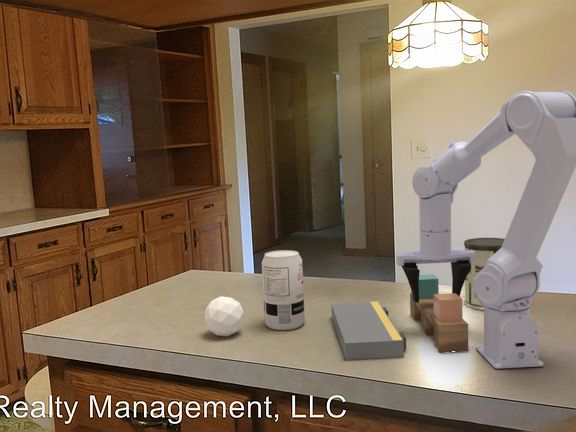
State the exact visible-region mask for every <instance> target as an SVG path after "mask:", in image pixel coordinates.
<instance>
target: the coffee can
mask: <svg viewBox="0 0 576 432" xmlns="http://www.w3.org/2000/svg"><path fill="white" fill-rule="evenodd" d="M504 240H505V238H504V237H503V238H501V237H475V238H468V239H465V240H464V242H463V245H464V250H472V251H474V252H475V262H469V263H470V264H471V270H470V272H469V273H468V275H467V277H466V279H465V281H464V287H465V289H464V292H465V293H464V294H465V295H464V296H465V297H464V298H465V299H464V305H465V306H467V307H468V308H471V309H475V310H479V311H484V306H482V305H481V302H480V300H479V299H478V298H477V296H476V293H475V290H474V279H475V277H476V275H477V274H478V272H480V271H481V270H482V269H483V268H484V267H485V265H486V262H487V260H488V259H489V258H490V257H491V256H492V255H494V254H495V253H496V252H497V251H498V250H499V249H500V248H501V247H502V245H503V242H504Z"/></svg>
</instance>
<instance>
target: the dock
mask: <svg viewBox="0 0 576 432" xmlns="http://www.w3.org/2000/svg"><path fill="white" fill-rule="evenodd" d="M330 308H331V320H332V323H333V326H334V329H335V332H336V334H337V337H338V341H339V343H340V347H341V349H342V352H343V356H344V358H345V360H346V361H354V360H373V359H374V360H375V359H391V358H395V359H396V358H405V354H404V353H405V350H407V337H406V335H405V334H404V332H400V331H398V329H397V328H396V326H395V325H394V323H393V322H392V320H391V319H390V317H389V310H388V309H387V307H386V306H384V307H383V306H382V305H381V303H380V302H379V301H378V300H375V301H367V302H351V303H350V302H349V303H331V307H330Z"/></svg>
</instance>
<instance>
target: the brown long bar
mask: <svg viewBox="0 0 576 432" xmlns="http://www.w3.org/2000/svg"><path fill="white" fill-rule="evenodd" d="M409 307H410V308H409V312H410V313H409V315H410V317H411V318H412V320H413V321H416V322H417V321H420V322H421V326H420V327H421V328H420V329H422V330H421V331H422V333H423V334H424V333H425V334H426V335H427V336H433V346H434V345H435V346H434V348H435V347H436V348H437V349H438V350H437V349H436V350H437V351H438V353H439V352H451V353H453V352H452V351H468V352H469V323H468V322H467V321H466V320H465V319H464V318H463V321H459V322H439V321H438V320H437V319H436V318H435V317H434V299H419V302H418V303H415V302H414V301H413V296H412V291H411V292H409ZM425 334H424V335H425ZM426 335H425V336H426Z"/></svg>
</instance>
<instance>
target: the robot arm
mask: <svg viewBox="0 0 576 432" xmlns="http://www.w3.org/2000/svg"><path fill="white" fill-rule="evenodd" d="M514 135H516V136H517V137H518V139H519V140H520V141H521V142H522V143H523V144H524V146H525V147H526V148H527V149H528V150H529V151H530V152H532V155H533V156H534V159H535V161H534V164H533V167H532V169H531V172H530V175H529V177H528V179H527V182H526V185H525V187H524V189H523V192H522V194H521V198H520V199H519V203H518V205H517V207H516V210H515V213H514V215H513V218H512V220H511V222H510V225H509V228H508V229H507V232H506V235H505V237H504V239H505V240H504V242H503V245H502V247H501V248H500V249H499V250H498V251H497V252H496V253H495V254H494V255H492V256H491V257H490V258H489V259H488V260H487V262H486V265H485V267H484V268H483V269H482V270H481V271H480V272H478V274H477V275H476V277H475V279H474V290H475V293H476V296H477V298H478V299H479V300H480V302H481V305H482V306H484V310H483V344H482V345H480V344H479V345H475V349H476V350H477V352H479V354H481V356H482V357H484V358H485V360H486V361H487V362H488V363H489V364H490V365H491V366H492V367H493V369H497V370H498V369H514V368H515V369H516V368H531V367H532V368H533V367H535V368H536V367H544V365H545V364H544V362H543V361H542V360H541V359H540V358H539V328H538V324H537V323H536V322H535V320H534V319H533V318H532V316H531V304H532V303H533V297H534V296H535V295H537V293H538V292H539V290H540V286H541V281H540V279H541V278H540V276H541V272H542V269H543V267H544V266H543V264H542V263H541V261H540V260H539V259H538V258H537V257H538V255H539V253H540V250H541V248H542V246H543V243H544V241H545V238H546V236H547V234H548V232H549V230H550V227H551V224H552V222H553V221H554V220H553V219H554V218H555V215H556V213H557V211H558V208H559V207H560V204H561V202H562V199H563V197H564V195H565V193H566V190H567V188H568V185H569V183H570V180H571V178H572V176H573V174H574V172H575V170H576V96H575V95H573V94H572V93H571V92H569V91H565V90H558V91H531V90H523V91H520V92H517V93H516V94H515V95H513V96H512V98H510V99H509V100H507V101H506V102H504V103H503V104H502V105H501V107H500V111H499V112H498V113H497V114H496V115H495V116H494V117H493V118H492V119H491V120H490V121H489V122H487V124H485V125H484V126H483V127H482V129H480V130H479V131H477V133H476V134H474V135H473V137H471V138H470V139H469V141H457V142H451V143H450V144H449V145H448V149H447V151H446V152H444V153H443V154H442V155H441V156H440V157H435V159H433V161H432V163H431V165H428V166H427V165H422V166H418V167H417V170H415V172H414V173H413V175H412V181H411V182H412V184H411V185H412V189H413V191H414V193H415V194H416V196H418V198H419V200H418V202H419V204H418V205H419V207H418V208H419V251H413V252H411V251H410V252H403V253H396V255H395V256H396V257H395V258H396V259H395V260H396V265H397V266H399V267H400V266H401V268H402V270H403V273H404V274H405V276H406V279H407V282H408V284H409V288H410V291H411V292H412V296H413V301H414V302H415V303H418V302H419V275H420V272H421V271H420V269H419V267H418V265H421V264H424V265H425V264H444V263H450V266H451V267H450V268H451V277H452V278H451V279H452V284H451V285H452V287H451V293H456V294H457V295H458V296H459V297H461V293H462V289H463V286H464V285H465V279H466V277H467V275H468V273H469V272H470V270H471V264H470V263H469V262H475V252H474V251H472V250H465V249H463V250H461V249H460V250H457V249H456V250H455V249H452V204H453V202H454V195H455V192H457V189H458V186H459V183H461V182H462V181H463V180H465V179H466V178H467V177H468V176H470V175H472V173H474V172H475V171H477V170H478V169H479V168H480V167H481V164H482V157H484V156H485V155H487V154H488V153H490V152H491V151H493V150H494V149H496V148H498V146H500V145H501V144H503V143H504V142H506V141H507V140H509V139H510V138H512V136H514Z"/></svg>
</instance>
